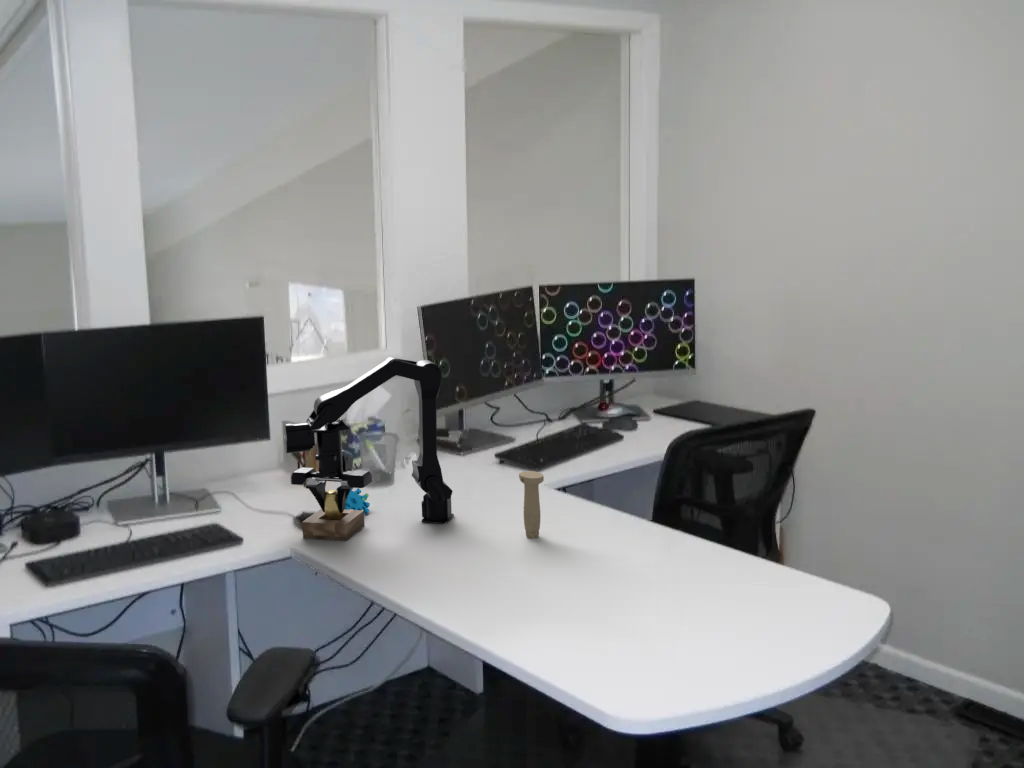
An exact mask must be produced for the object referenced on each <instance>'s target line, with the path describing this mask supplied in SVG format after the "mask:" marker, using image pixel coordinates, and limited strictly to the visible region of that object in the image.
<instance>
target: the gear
mask: <svg viewBox="0 0 1024 768" xmlns="http://www.w3.org/2000/svg"><path fill="white" fill-rule="evenodd" d="M353 489H354V488H352V489H351V490H350V493H349V495H348V498H347V501H346V505H345V508H344V509H346V510H363V511H364V516H365V515H367V514H368V513H369V512H370V509H369V507H370V505H371V504H370V502H368V501H367V500H368V497H370V495H369V493H364V494H362V495H360V494H361V493H362V490H361V488H356V489H355V491H354V490H353ZM335 490H337V488H336V489H335Z"/></svg>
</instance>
